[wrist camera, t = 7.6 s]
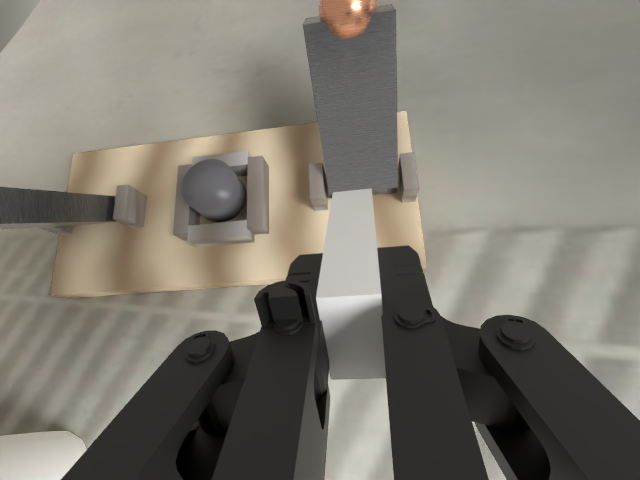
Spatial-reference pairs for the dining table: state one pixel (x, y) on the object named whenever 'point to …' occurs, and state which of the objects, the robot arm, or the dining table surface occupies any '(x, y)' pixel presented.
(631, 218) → the dining table surface
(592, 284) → the dining table surface
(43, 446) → the foam cup
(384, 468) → the dining table surface
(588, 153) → the dining table surface
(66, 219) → the grey lever handle
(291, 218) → the switch board
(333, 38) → the copper ball grey stand
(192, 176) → the charcoal button
